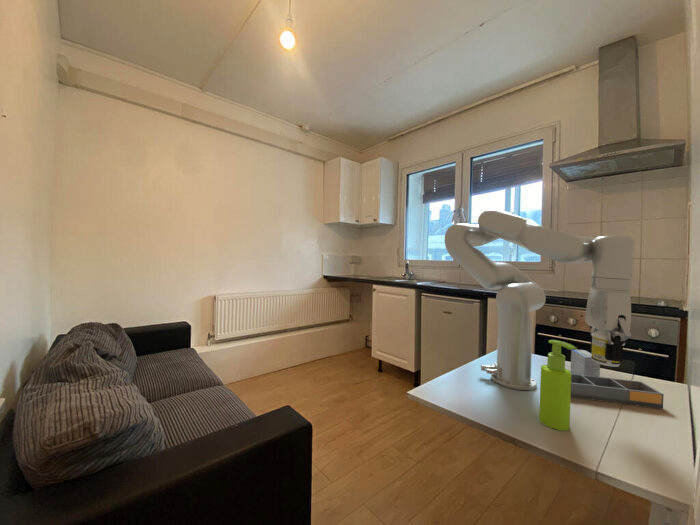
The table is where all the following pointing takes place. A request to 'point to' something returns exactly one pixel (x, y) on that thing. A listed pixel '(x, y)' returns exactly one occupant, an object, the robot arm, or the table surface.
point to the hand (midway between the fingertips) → (605, 355)
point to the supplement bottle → (601, 349)
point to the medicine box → (583, 364)
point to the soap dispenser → (555, 389)
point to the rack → (615, 391)
